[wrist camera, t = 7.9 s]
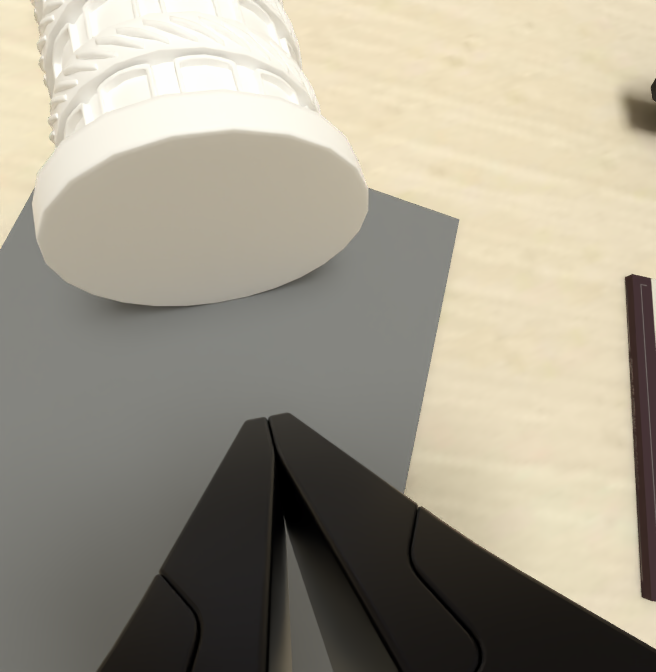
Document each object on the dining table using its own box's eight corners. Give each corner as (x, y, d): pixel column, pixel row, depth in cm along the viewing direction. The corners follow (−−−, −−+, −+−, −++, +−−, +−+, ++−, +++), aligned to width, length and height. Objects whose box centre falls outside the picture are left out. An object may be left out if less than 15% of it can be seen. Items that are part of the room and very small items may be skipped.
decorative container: (427, 127, 12) (279, -242, 16) (-53, 131, 8) (-89, -358, 12) (322, 287, 23) (248, 37, 27) (89, 322, 19) (44, 23, 23)
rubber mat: (340, 795, 17) (341, 800, 17) (-231, 679, 15) (-241, 684, 15) (456, 222, 25) (459, 219, 25) (90, 95, 23) (88, 90, 23)
